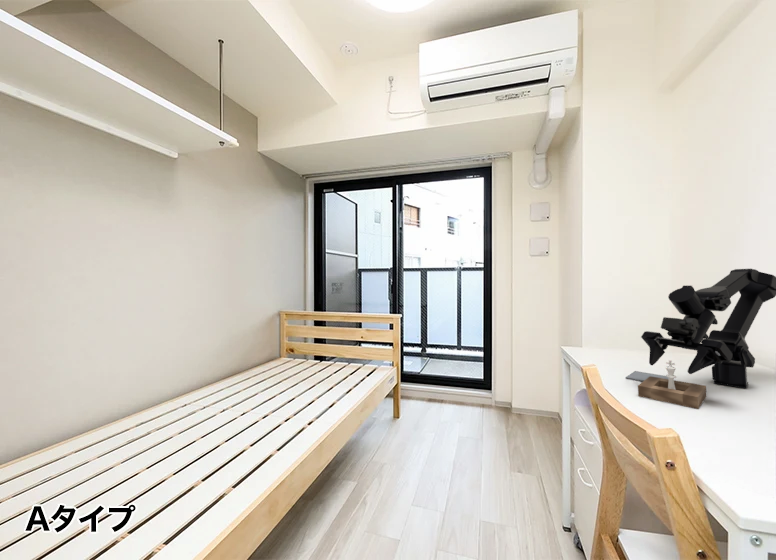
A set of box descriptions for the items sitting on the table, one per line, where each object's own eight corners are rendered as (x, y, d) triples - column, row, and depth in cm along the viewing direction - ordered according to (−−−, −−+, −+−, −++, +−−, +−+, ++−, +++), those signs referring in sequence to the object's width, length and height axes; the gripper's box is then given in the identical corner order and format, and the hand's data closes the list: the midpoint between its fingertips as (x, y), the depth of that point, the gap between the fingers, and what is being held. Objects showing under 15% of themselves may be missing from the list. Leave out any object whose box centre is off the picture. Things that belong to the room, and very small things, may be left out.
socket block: (706, 396, 84) (706, 385, 84) (698, 409, 77) (697, 397, 77) (650, 386, 94) (649, 376, 94) (638, 396, 87) (637, 385, 87)
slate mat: (673, 378, 99) (673, 377, 99) (665, 386, 93) (665, 384, 93) (635, 372, 107) (635, 370, 107) (625, 378, 101) (625, 377, 101)
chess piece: (679, 401, 82) (677, 363, 82) (656, 395, 87) (655, 360, 87) (687, 397, 84) (685, 361, 84) (665, 392, 89) (663, 357, 89)
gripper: (644, 305, 96) (618, 343, 93) (723, 309, 78) (695, 357, 75) (663, 328, 98) (639, 367, 95) (744, 338, 80) (718, 385, 77)
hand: (668, 368), depth 85 cm, fingers open, 9 cm apart
